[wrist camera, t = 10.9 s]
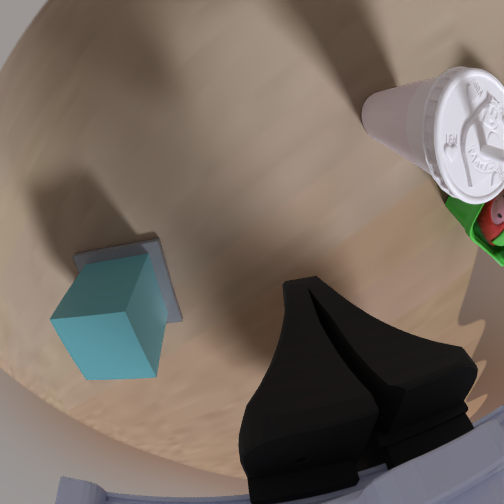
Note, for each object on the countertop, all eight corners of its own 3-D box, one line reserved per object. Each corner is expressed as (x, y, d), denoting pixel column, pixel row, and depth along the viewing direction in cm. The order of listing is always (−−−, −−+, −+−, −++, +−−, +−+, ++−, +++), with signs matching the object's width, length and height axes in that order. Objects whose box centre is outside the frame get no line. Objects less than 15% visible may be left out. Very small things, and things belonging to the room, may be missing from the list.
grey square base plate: (182, 317, 24) (176, 368, 19) (105, 325, 24) (88, 372, 19) (159, 238, 21) (142, 279, 16) (75, 253, 20) (43, 294, 16)
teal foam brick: (168, 312, 23) (156, 377, 17) (109, 319, 23) (86, 379, 17) (148, 253, 21) (125, 311, 15) (85, 264, 20) (49, 319, 15)
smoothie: (331, 144, 19) (492, 224, 6) (356, 58, 16) (532, 32, 4) (406, 172, 20) (557, 261, 8) (429, 95, 18) (594, 127, 5)
